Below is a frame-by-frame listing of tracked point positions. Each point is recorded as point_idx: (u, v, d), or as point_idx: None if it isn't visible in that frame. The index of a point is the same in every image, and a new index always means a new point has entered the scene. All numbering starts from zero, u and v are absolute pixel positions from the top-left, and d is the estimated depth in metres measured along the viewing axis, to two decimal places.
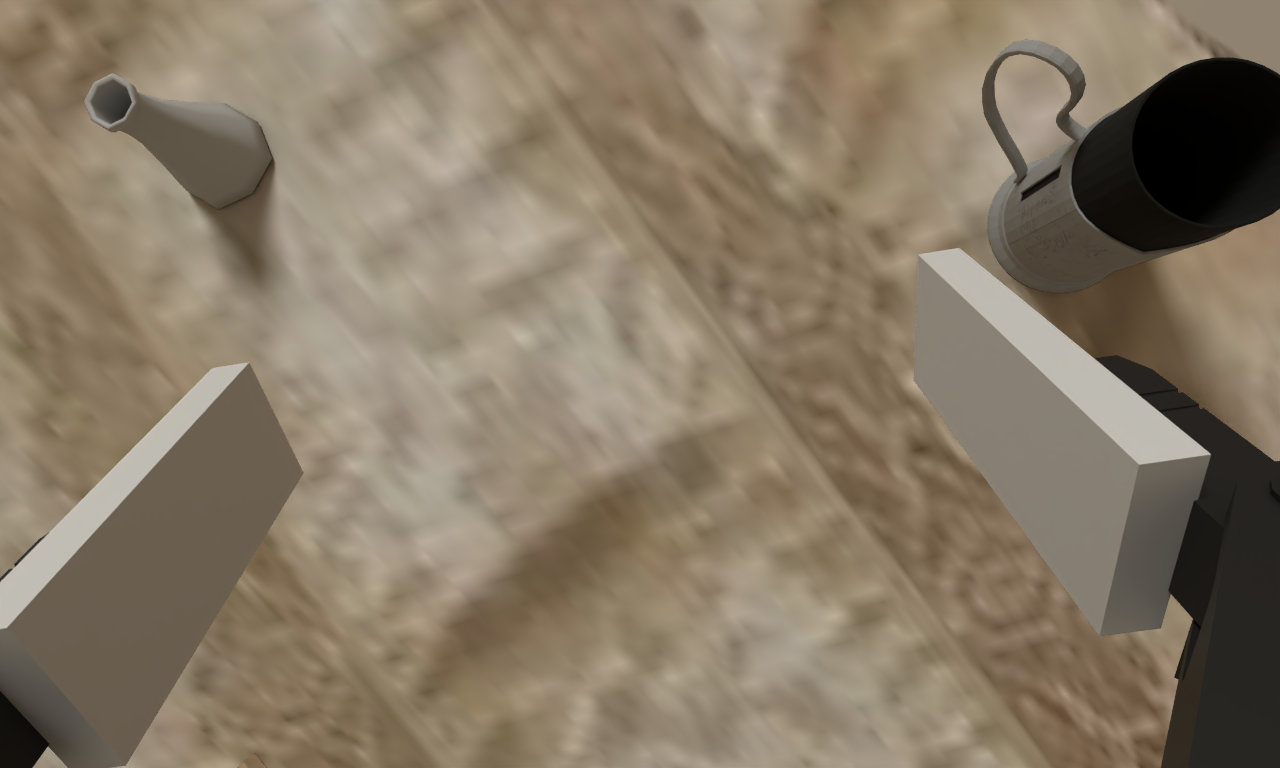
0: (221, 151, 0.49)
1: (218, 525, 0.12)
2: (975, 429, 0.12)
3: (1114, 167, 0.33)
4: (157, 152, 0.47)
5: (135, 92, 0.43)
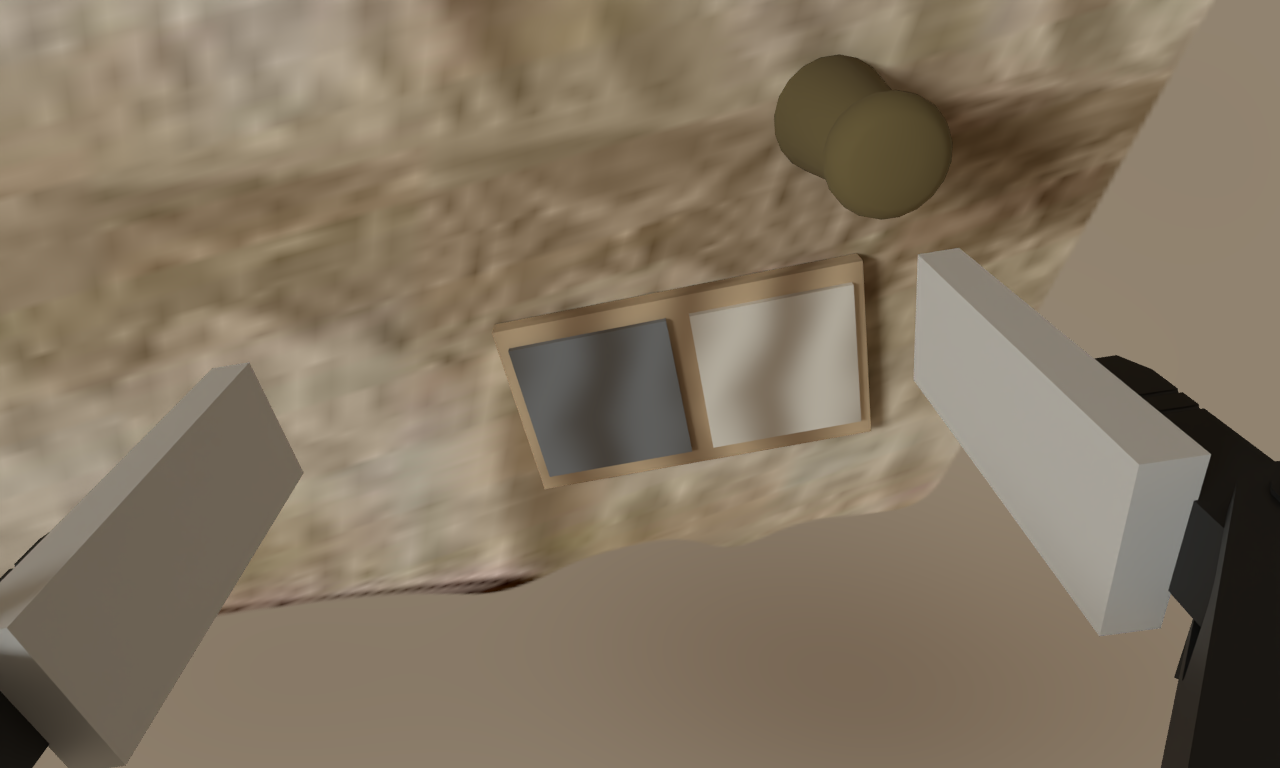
0: None
1: (218, 525, 0.12)
2: (975, 429, 0.12)
3: None
4: None
5: None
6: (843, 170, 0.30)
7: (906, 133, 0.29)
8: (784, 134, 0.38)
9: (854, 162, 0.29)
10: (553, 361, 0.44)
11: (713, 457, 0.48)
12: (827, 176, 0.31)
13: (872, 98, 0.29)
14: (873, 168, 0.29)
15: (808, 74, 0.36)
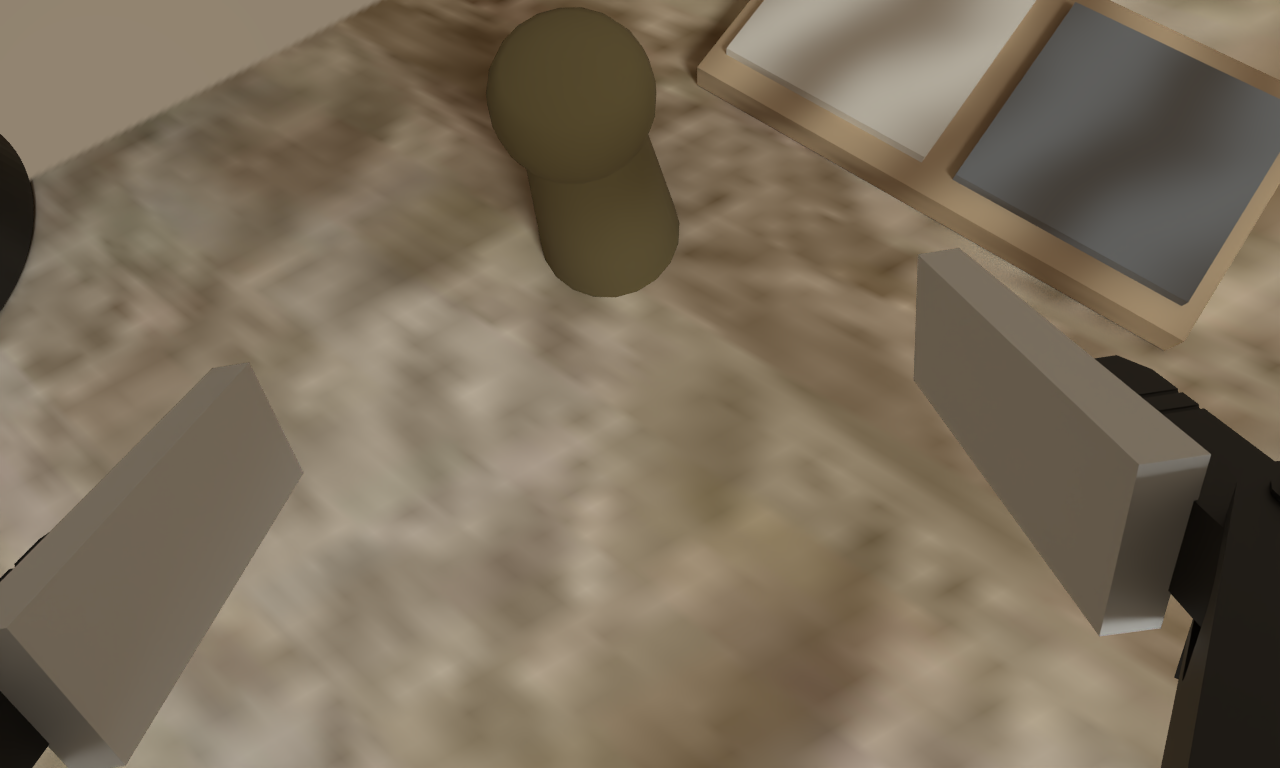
0: None
1: (218, 525, 0.12)
2: (975, 429, 0.12)
3: None
4: None
5: None
6: (620, 109, 0.21)
7: (527, 88, 0.21)
8: (660, 248, 0.29)
9: (600, 105, 0.21)
10: (1140, 242, 0.28)
11: None
12: (643, 126, 0.22)
13: (534, 163, 0.22)
14: (587, 80, 0.21)
15: (593, 281, 0.29)
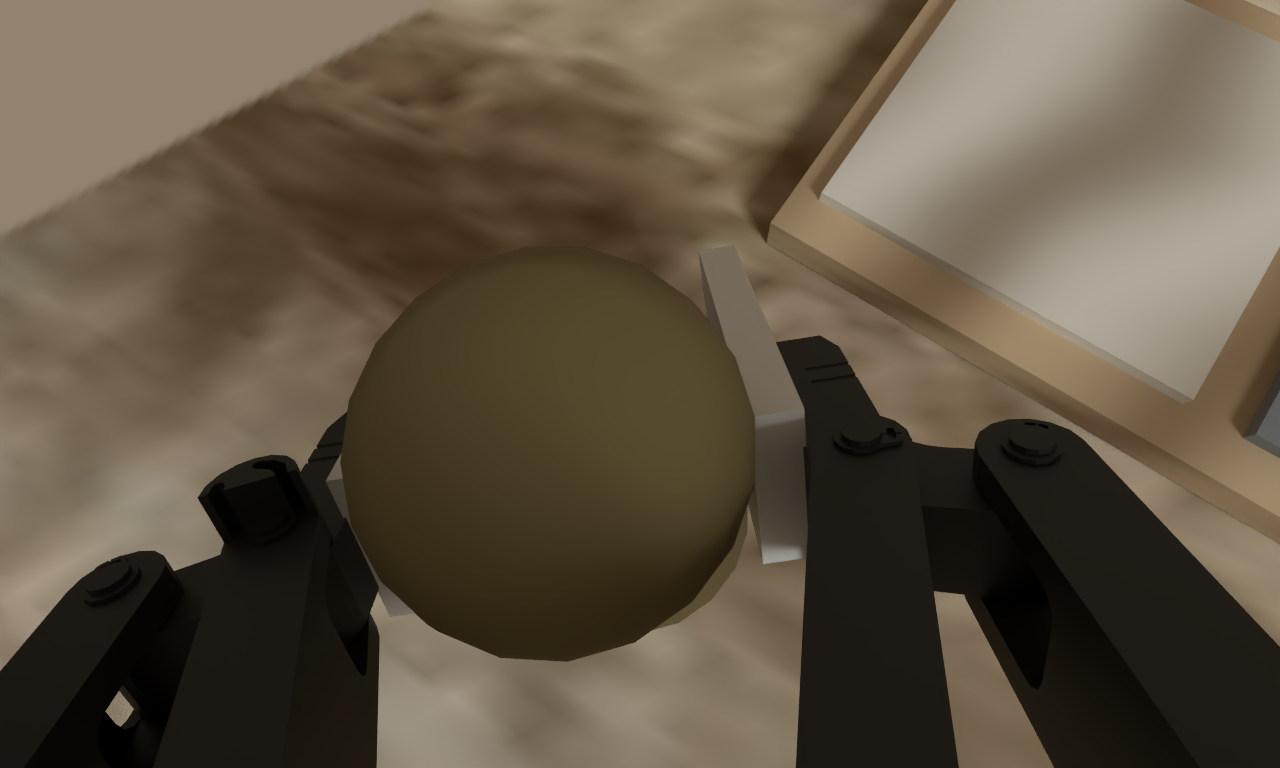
0: None
1: None
2: None
3: None
4: None
5: None
6: (679, 554, 0.08)
7: (429, 499, 0.08)
8: (722, 572, 0.16)
9: (628, 553, 0.08)
10: None
11: None
12: (731, 546, 0.09)
13: (462, 640, 0.09)
14: (591, 485, 0.08)
15: None
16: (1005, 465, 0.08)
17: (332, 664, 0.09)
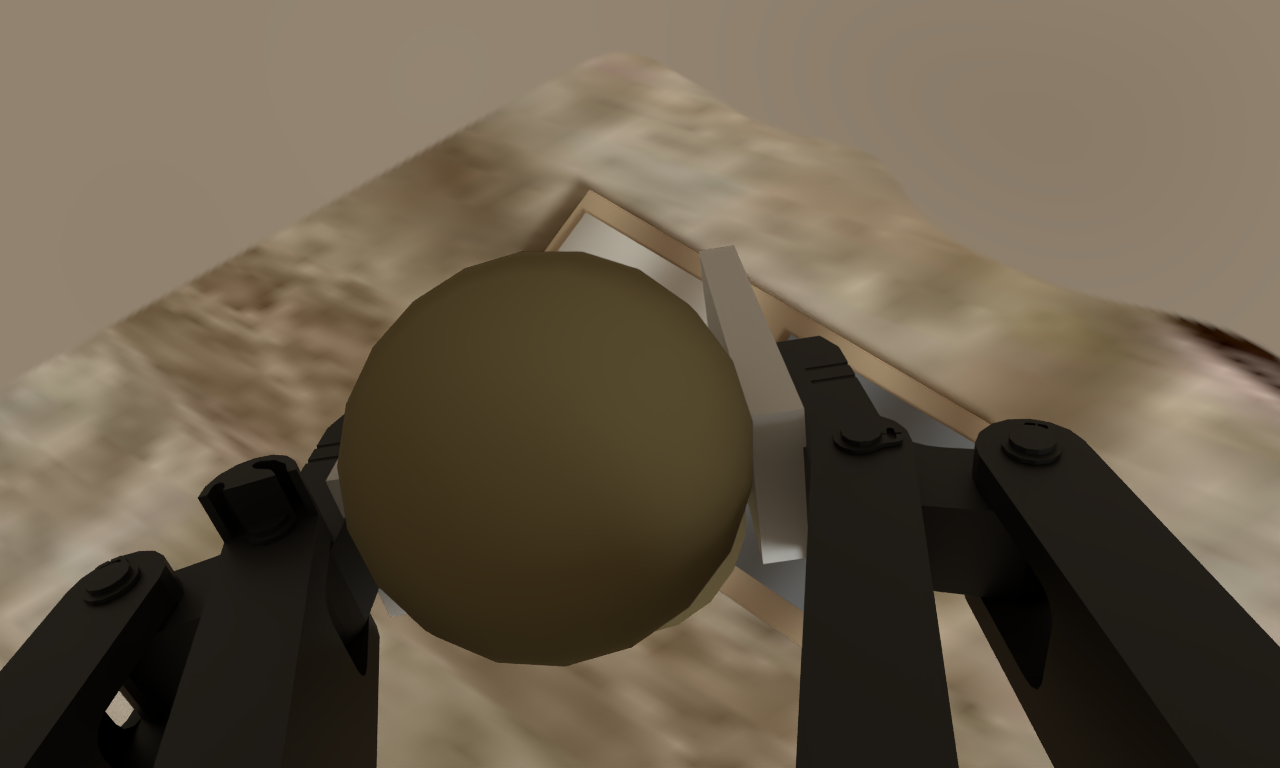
0: None
1: None
2: None
3: None
4: None
5: None
6: (675, 559, 0.08)
7: (427, 504, 0.08)
8: (720, 575, 0.16)
9: (625, 559, 0.08)
10: None
11: (777, 302, 0.32)
12: (728, 551, 0.09)
13: (459, 644, 0.09)
14: (588, 490, 0.08)
15: None
16: (1005, 465, 0.08)
17: (332, 664, 0.09)
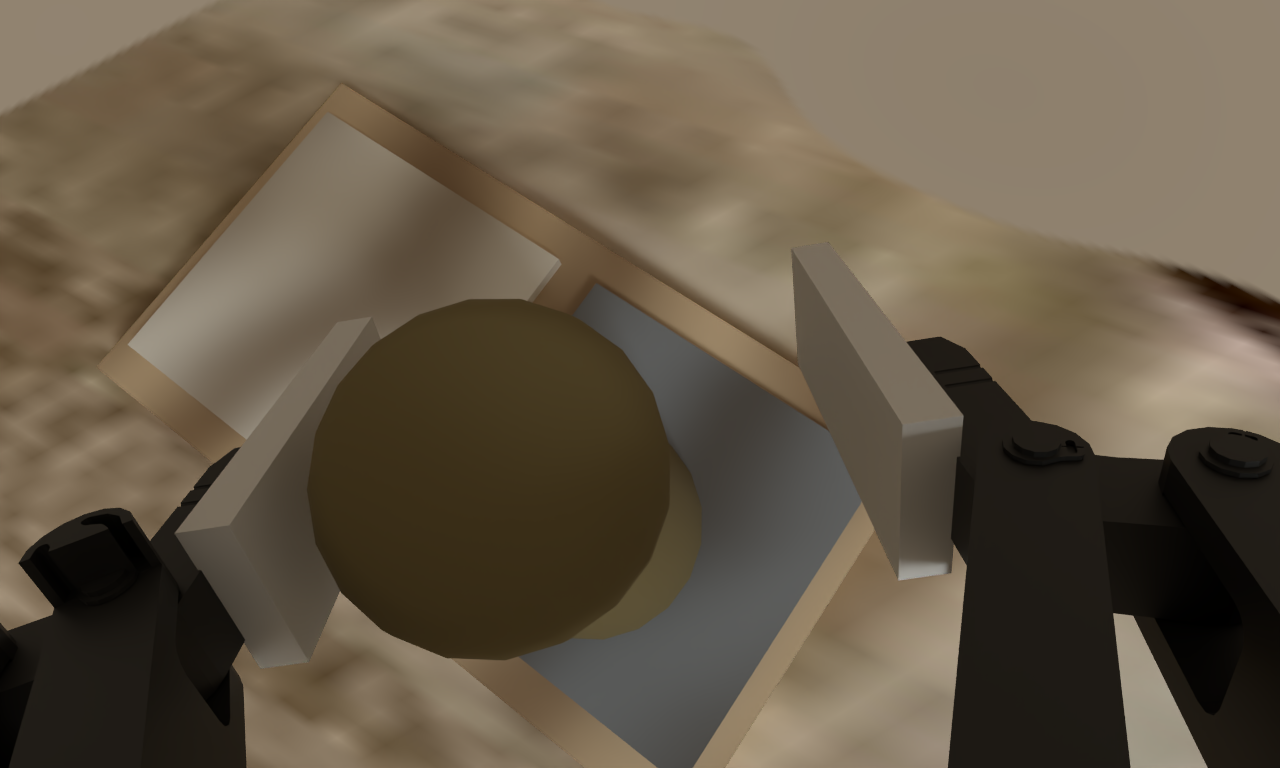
0: None
1: None
2: (829, 405, 0.13)
3: None
4: None
5: None
6: (594, 565, 0.09)
7: (380, 522, 0.09)
8: (674, 581, 0.17)
9: (549, 566, 0.09)
10: (628, 680, 0.19)
11: (584, 239, 0.22)
12: (646, 558, 0.10)
13: (413, 643, 0.10)
14: (516, 508, 0.09)
15: None
16: (1202, 474, 0.08)
17: (189, 715, 0.08)
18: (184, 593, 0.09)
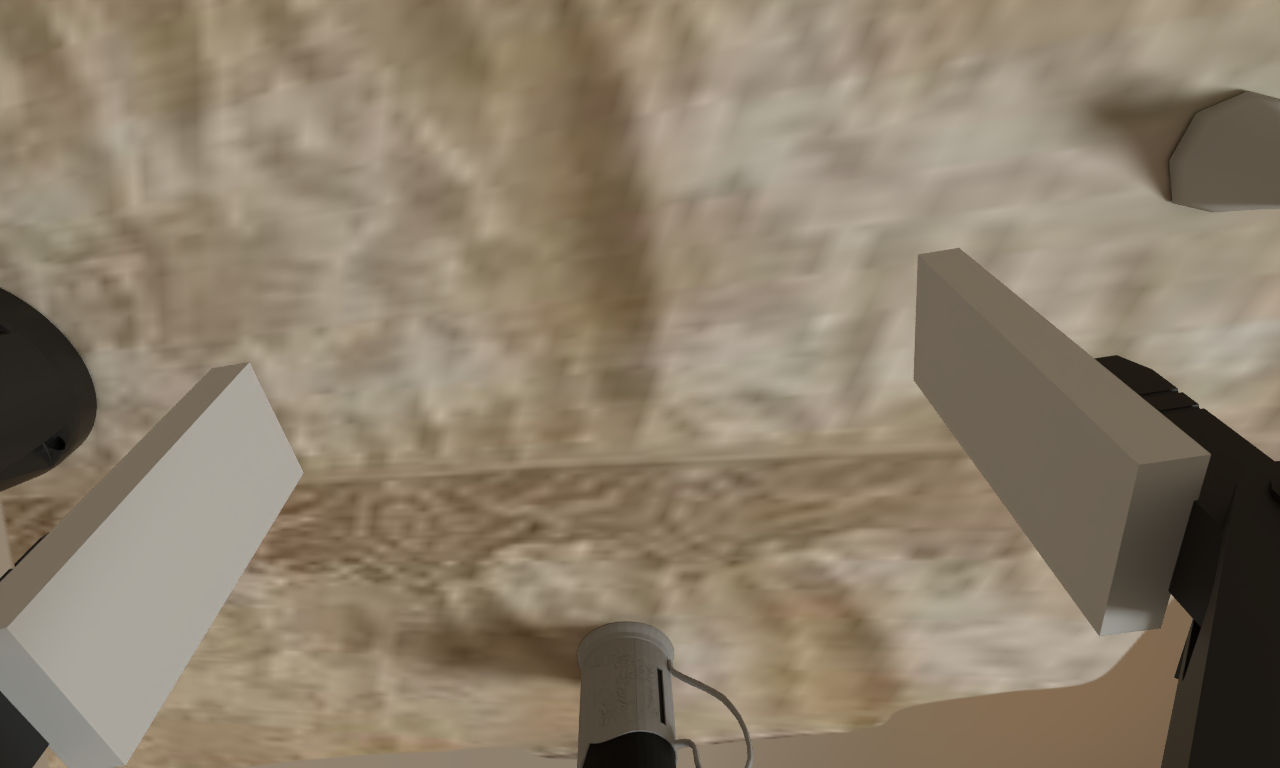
0: (1226, 190, 0.42)
1: (218, 525, 0.12)
2: (975, 429, 0.12)
3: None
4: None
5: None
6: None
7: None
8: None
9: None
10: None
11: None
12: None
13: None
14: None
15: None
16: None
17: None
18: None
